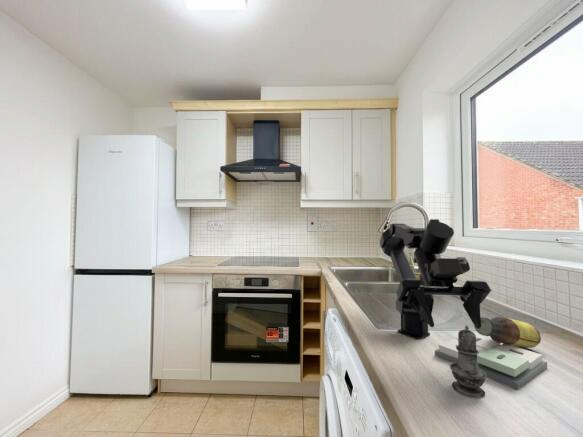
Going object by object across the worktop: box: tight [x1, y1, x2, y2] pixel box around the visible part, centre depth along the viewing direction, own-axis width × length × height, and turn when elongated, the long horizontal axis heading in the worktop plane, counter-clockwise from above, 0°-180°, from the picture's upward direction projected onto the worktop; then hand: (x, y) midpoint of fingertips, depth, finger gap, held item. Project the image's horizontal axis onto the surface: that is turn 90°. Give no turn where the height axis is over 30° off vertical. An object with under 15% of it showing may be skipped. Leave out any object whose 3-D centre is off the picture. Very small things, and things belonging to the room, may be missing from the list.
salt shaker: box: [449, 325, 488, 399], centre depth 51 cm, size 6×6×12 cm
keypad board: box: [434, 334, 548, 390], centre depth 62 cm, size 16×16×3 cm
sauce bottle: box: [473, 316, 542, 349], centre depth 66 cm, size 6×6×20 cm
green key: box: [477, 347, 529, 377], centre depth 56 cm, size 7×7×3 cm
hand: (455, 327), depth 55 cm, fingers open, 9 cm apart
